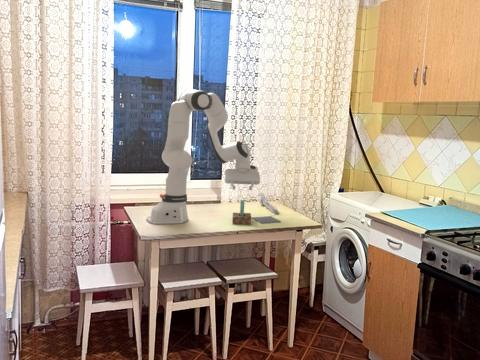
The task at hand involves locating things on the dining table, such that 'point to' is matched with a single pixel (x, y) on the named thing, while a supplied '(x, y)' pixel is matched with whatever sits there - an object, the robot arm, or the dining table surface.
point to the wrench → (267, 204)
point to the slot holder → (242, 218)
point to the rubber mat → (265, 219)
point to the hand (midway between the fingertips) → (242, 189)
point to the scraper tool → (242, 208)
